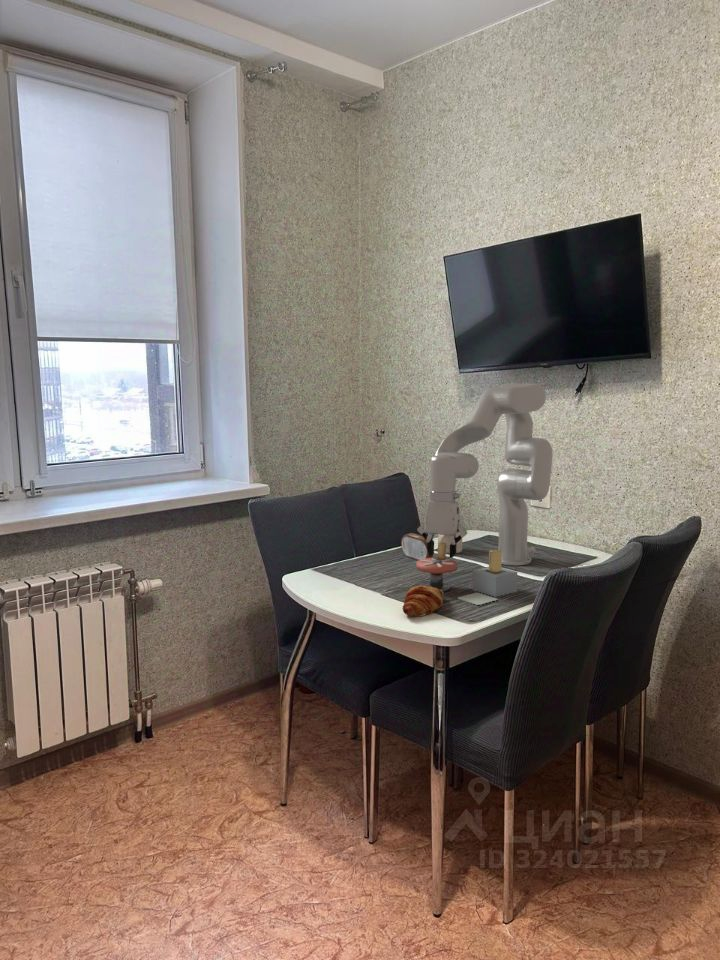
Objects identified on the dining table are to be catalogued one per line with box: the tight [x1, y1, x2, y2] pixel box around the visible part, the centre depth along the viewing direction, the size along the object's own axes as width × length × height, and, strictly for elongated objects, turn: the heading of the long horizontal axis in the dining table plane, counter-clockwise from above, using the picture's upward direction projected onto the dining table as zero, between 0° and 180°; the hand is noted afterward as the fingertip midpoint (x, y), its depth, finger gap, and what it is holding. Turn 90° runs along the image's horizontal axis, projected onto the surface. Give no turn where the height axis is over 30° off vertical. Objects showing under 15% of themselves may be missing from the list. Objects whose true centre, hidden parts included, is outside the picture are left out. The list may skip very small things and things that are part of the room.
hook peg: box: [488, 549, 503, 574], centre depth 207 cm, size 4×4×12 cm
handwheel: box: [415, 541, 458, 574], centre depth 209 cm, size 12×12×6 cm
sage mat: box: [457, 592, 499, 606], centre depth 199 cm, size 8×8×1 cm
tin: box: [400, 532, 434, 561], centre depth 244 cm, size 15×3×8 cm, turn 35°
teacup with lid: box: [437, 532, 463, 554], centre depth 254 cm, size 12×9×12 cm
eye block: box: [472, 566, 518, 598], centre depth 207 cm, size 9×9×6 cm
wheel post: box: [422, 573, 451, 593], centre depth 210 cm, size 8×8×6 cm
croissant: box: [402, 585, 444, 617], centre depth 192 cm, size 21×10×8 cm, turn 150°
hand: (441, 555), depth 213 cm, fingers open, 5 cm apart
